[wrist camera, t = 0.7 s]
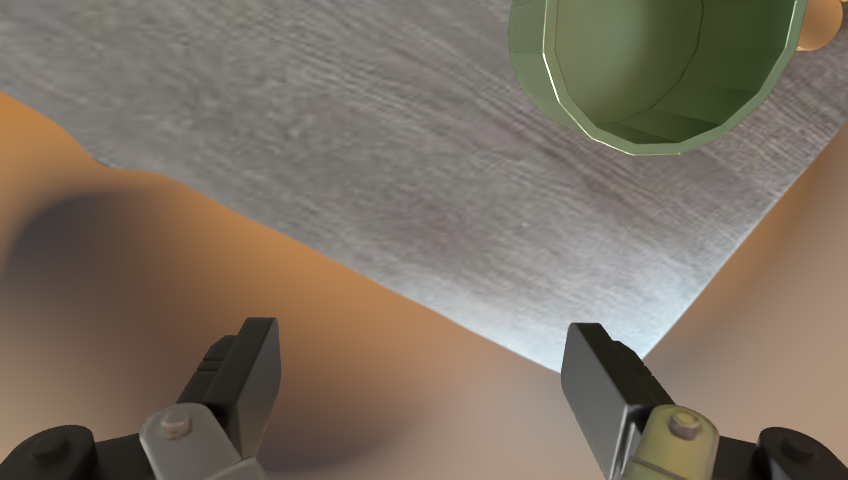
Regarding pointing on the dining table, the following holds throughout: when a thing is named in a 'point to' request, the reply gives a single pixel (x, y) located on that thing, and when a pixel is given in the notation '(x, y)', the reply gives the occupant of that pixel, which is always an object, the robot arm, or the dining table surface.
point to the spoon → (820, 23)
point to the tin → (652, 65)
